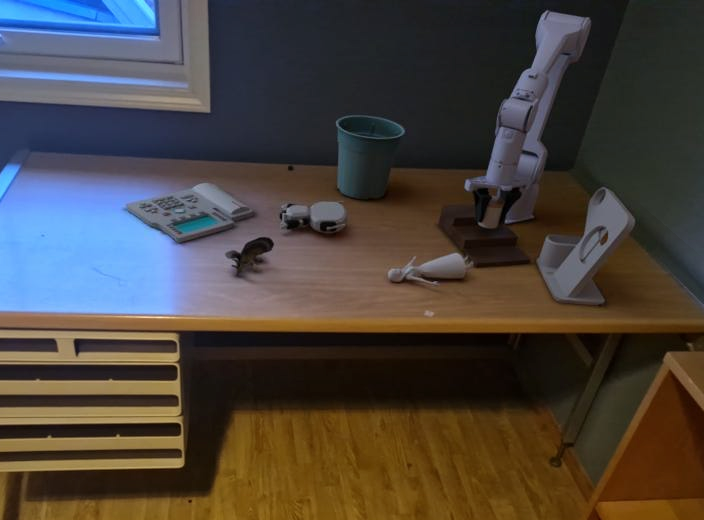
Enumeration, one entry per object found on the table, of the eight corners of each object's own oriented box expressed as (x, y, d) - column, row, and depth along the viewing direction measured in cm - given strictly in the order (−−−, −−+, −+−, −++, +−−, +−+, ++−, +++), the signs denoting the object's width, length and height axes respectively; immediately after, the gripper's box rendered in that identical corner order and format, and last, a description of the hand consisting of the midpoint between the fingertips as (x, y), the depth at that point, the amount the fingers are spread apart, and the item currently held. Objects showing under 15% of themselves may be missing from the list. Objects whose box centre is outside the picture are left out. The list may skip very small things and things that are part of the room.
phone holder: (534, 258, 144) (560, 180, 133) (580, 262, 144) (609, 184, 133) (555, 302, 130) (586, 218, 119) (606, 306, 130) (641, 222, 119)
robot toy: (278, 240, 143) (347, 241, 143) (277, 221, 140) (348, 221, 140) (280, 215, 153) (345, 216, 153) (280, 197, 150) (346, 197, 150)
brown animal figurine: (262, 279, 126) (282, 252, 132) (242, 249, 123) (263, 223, 128) (234, 286, 131) (255, 260, 137) (214, 258, 128) (236, 232, 133)
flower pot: (369, 173, 175) (377, 111, 165) (407, 198, 164) (419, 133, 154) (316, 182, 168) (322, 118, 158) (353, 208, 157) (361, 141, 147)
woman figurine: (485, 268, 129) (400, 281, 125) (481, 287, 132) (398, 300, 128) (458, 240, 138) (378, 251, 134) (455, 258, 141) (376, 270, 137)
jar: (488, 217, 147) (494, 194, 144) (502, 226, 144) (509, 202, 141) (472, 221, 145) (478, 197, 142) (486, 230, 142) (493, 206, 139)
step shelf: (437, 225, 154) (442, 205, 150) (487, 222, 157) (493, 202, 154) (475, 267, 139) (481, 246, 136) (529, 263, 142) (536, 242, 139)
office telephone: (211, 177, 159) (263, 208, 148) (211, 188, 160) (262, 219, 149) (124, 198, 146) (174, 233, 135) (125, 209, 147) (174, 245, 136)
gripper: (482, 168, 131) (466, 230, 139) (545, 166, 135) (526, 226, 143) (466, 154, 136) (452, 215, 145) (528, 153, 140) (511, 212, 148)
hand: (488, 220), depth 144 cm, fingers closed on jar, 4 cm apart
